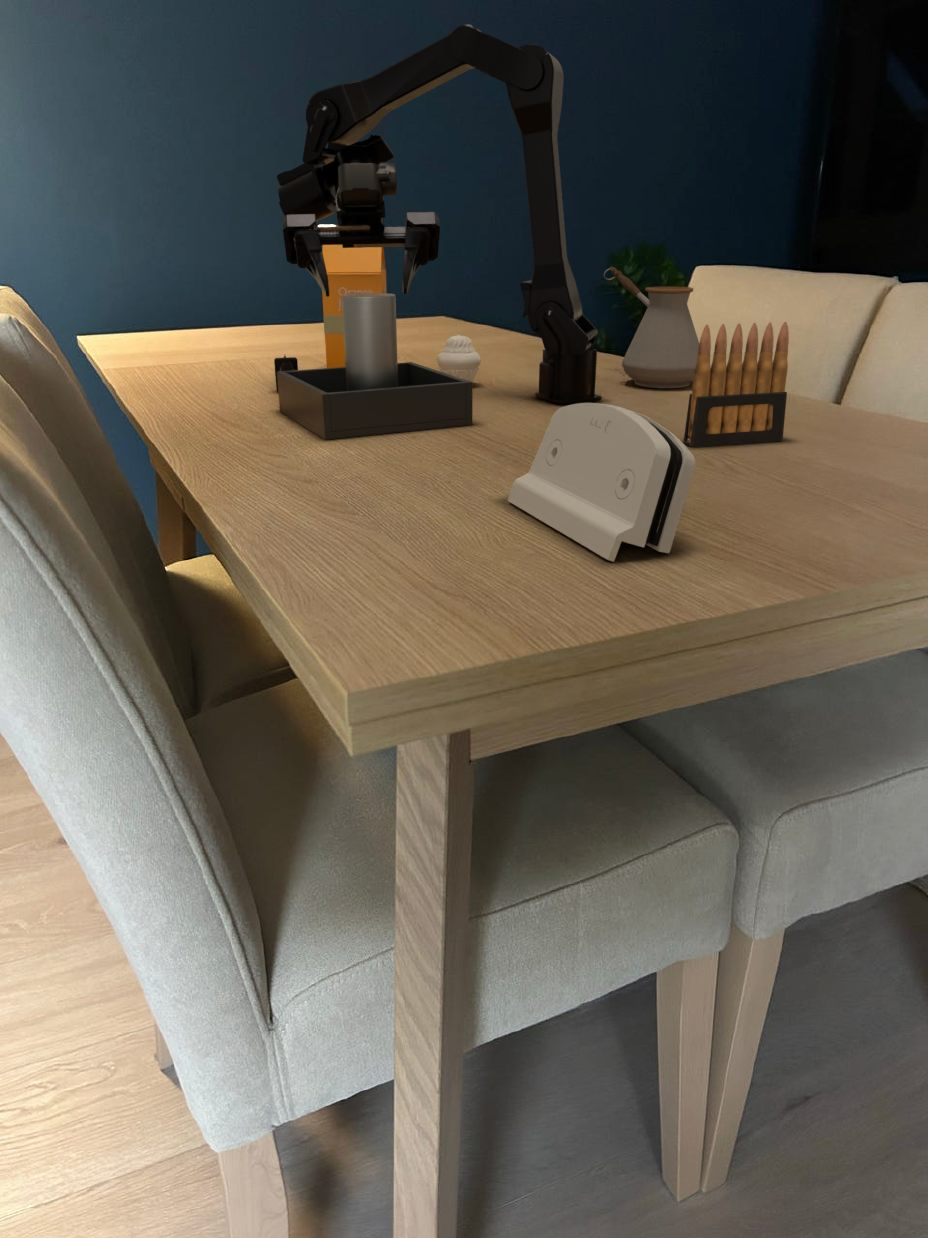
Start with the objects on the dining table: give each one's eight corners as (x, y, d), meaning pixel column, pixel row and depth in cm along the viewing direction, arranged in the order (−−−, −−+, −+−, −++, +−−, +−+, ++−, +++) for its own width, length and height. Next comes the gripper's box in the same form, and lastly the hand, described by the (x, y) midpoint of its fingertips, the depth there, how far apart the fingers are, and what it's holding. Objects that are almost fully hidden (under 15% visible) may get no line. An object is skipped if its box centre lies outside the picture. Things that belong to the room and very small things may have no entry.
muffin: (430, 387, 130) (429, 335, 127) (446, 380, 135) (446, 330, 132) (472, 390, 128) (472, 337, 125) (487, 383, 133) (487, 332, 130)
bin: (412, 399, 122) (411, 361, 120) (472, 424, 107) (472, 381, 105) (279, 411, 114) (276, 371, 113) (325, 439, 100) (322, 394, 98)
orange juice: (385, 375, 140) (380, 230, 132) (326, 375, 141) (317, 230, 133) (389, 367, 148) (385, 229, 140) (333, 367, 148) (326, 229, 140)
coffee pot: (720, 387, 130) (732, 271, 124) (650, 393, 125) (659, 274, 119) (635, 366, 148) (642, 265, 142) (571, 371, 143) (575, 266, 137)
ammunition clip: (773, 437, 101) (788, 320, 96) (783, 440, 99) (798, 322, 94) (682, 443, 98) (693, 323, 93) (691, 447, 96) (702, 325, 92)
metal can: (387, 404, 114) (383, 292, 109) (406, 413, 109) (403, 295, 104) (340, 408, 112) (334, 293, 107) (358, 417, 107) (352, 297, 102)
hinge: (505, 499, 78) (544, 382, 76) (551, 511, 80) (591, 398, 78) (610, 561, 64) (663, 420, 62) (663, 574, 66) (716, 438, 64)
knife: (296, 397, 116) (294, 360, 114) (271, 397, 115) (268, 360, 114) (302, 384, 145) (301, 354, 143) (283, 384, 144) (281, 354, 143)
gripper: (275, 138, 108) (280, 244, 103) (436, 137, 110) (449, 241, 105) (284, 212, 119) (289, 312, 113) (431, 209, 121) (443, 308, 115)
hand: (366, 292), depth 111 cm, fingers open, 9 cm apart
